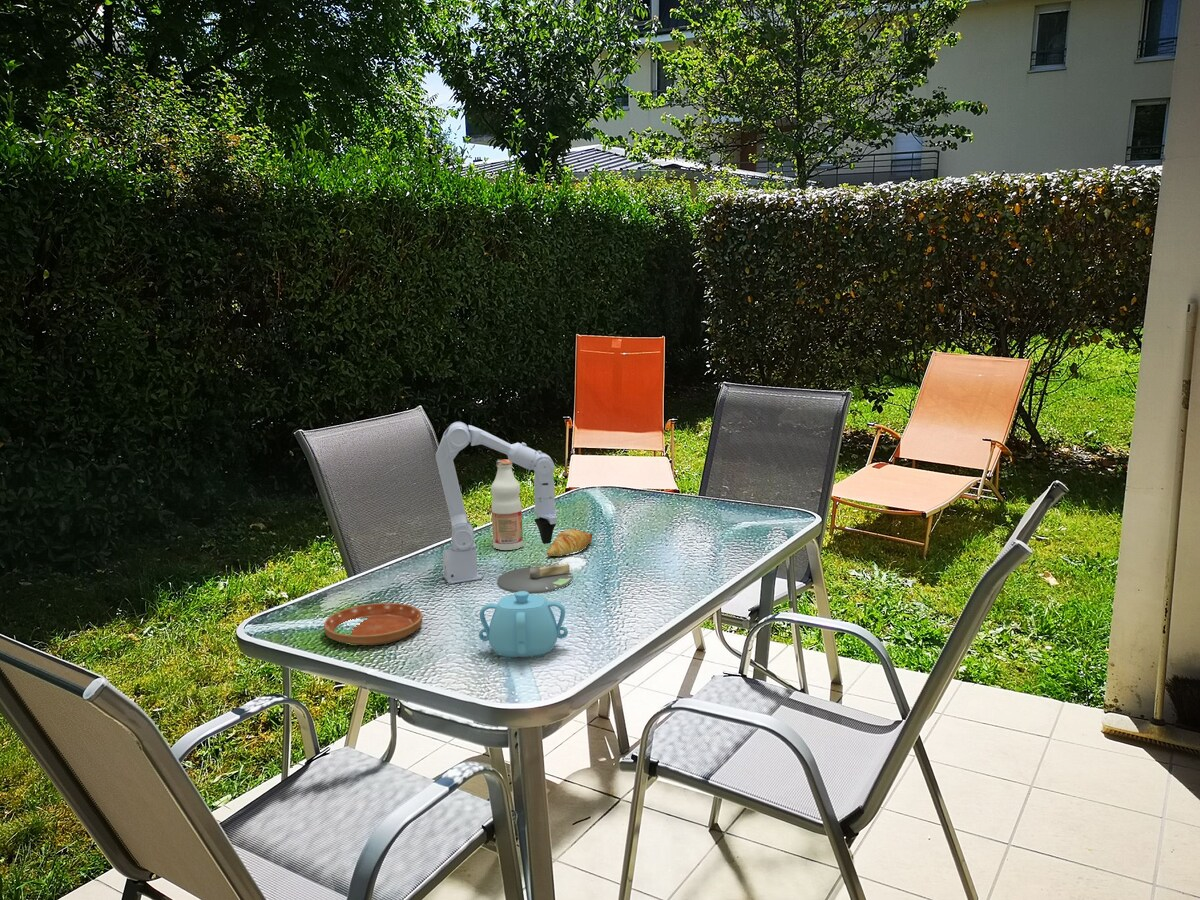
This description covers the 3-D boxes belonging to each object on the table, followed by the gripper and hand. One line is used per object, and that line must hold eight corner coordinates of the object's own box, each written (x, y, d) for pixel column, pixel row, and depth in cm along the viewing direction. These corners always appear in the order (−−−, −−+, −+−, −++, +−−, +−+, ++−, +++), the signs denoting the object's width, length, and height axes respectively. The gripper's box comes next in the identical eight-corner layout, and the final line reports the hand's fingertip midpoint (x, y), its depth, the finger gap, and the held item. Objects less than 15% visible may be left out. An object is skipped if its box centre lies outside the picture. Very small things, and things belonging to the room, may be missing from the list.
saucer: (383, 609, 233) (382, 595, 233) (442, 628, 219) (441, 613, 218) (305, 636, 216) (304, 622, 216) (364, 659, 202) (362, 643, 201)
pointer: (531, 578, 250) (531, 570, 250) (528, 576, 253) (528, 567, 253) (570, 573, 255) (570, 564, 254) (567, 570, 257) (566, 562, 257)
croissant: (556, 571, 272) (564, 551, 268) (532, 552, 276) (540, 531, 273) (597, 552, 289) (606, 533, 285) (574, 534, 293) (583, 515, 289)
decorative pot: (532, 631, 215) (530, 576, 213) (574, 650, 203) (572, 592, 201) (474, 650, 205) (471, 592, 203) (514, 671, 193) (511, 610, 190)
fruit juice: (487, 547, 287) (482, 461, 282) (510, 541, 293) (506, 456, 288) (505, 553, 280) (501, 464, 275) (529, 547, 286) (525, 460, 281)
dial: (510, 597, 239) (509, 594, 239) (488, 575, 258) (488, 572, 258) (584, 586, 247) (583, 583, 247) (557, 565, 266) (557, 562, 266)
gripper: (566, 500, 252) (568, 547, 254) (549, 490, 265) (551, 535, 267) (542, 503, 249) (544, 550, 251) (526, 493, 262) (528, 538, 265)
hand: (546, 543), depth 259 cm, fingers closed
